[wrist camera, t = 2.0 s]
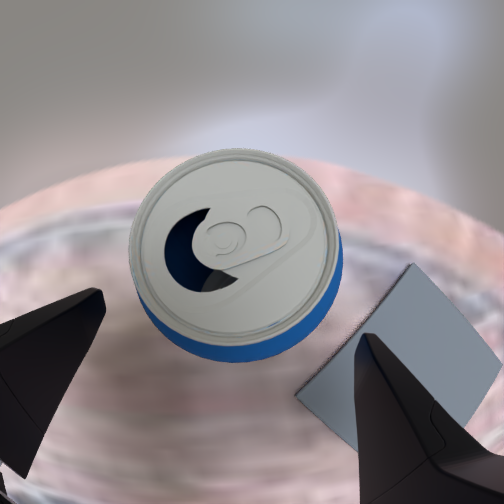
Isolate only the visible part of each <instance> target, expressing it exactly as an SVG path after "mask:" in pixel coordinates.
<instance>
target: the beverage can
mask: <svg viewBox="0 0 504 504" xmlns="http://www.w3.org/2000/svg"><path fill="white" fill-rule="evenodd" d="M129 264H130V269H131V274H132V277H133V280H134V284H135V286H136V290H137V293H138V296H139V299H140V302H141V304H142V306H143V308H144V309H145V311H146V313H147V315H148V316H149V318H150V319H151V321H152V322H153V323H154V325H155V326H156V327H157V328H158V329H159V330H160V331H161V332H162V333H163V335H164V336H166V337H167V338H168V339H169V340H171V341H172V342H173V343H174V344H176V345H177V346H179V347H181V348H182V349H184V350H186V351H188V352H190V353H192V354H194V355H197V356H199V357H202V358H206V359H210V360H214V361H219V362H229V363H240V362H251V361H257V360H262V359H265V358H268V357H271V356H274V355H277V354H279V353H281V352H284V351H286V350H288V349H290V348H291V347H293V346H294V345H296V344H297V343H299V342H300V341H302V340H303V339H304V338H305V337H307V336H308V335H309V334H310V333H311V332H312V331H313V330H314V329H315V328H316V327H317V326H318V325H319V323H320V322H321V321H322V320H323V318H324V317H325V316H326V314H327V312H328V311H329V309H330V307H331V306H332V304H333V301H334V299H335V297H336V294H337V292H338V289H339V285H340V281H341V276H342V268H343V249H342V242H341V237H340V233H339V230H338V227H337V221H336V218H335V215H334V212H333V209H332V207H331V205H330V203H329V200H328V198H327V197H326V195H325V194H324V192H323V191H322V189H321V188H320V186H319V185H318V184H317V183H316V182H315V181H314V180H313V178H312V177H310V176H309V175H308V174H307V173H306V172H305V171H304V170H302V169H301V168H299V167H298V166H296V165H295V164H294V163H292V162H290V161H288V160H286V159H284V158H282V157H279V156H277V155H274V154H271V153H268V152H264V151H260V150H253V149H240V148H237V149H236V148H233V149H222V150H217V151H212V152H208V153H205V154H202V155H199V156H196V157H194V158H192V159H189V160H187V161H185V162H184V163H182V164H180V165H178V166H177V167H175V168H174V169H172V170H171V171H170V172H168V173H167V174H166V175H165V176H164V177H162V178H161V179H160V180H159V181H158V182H157V183H156V184H155V186H154V187H153V188H152V189H151V190H150V191H149V193H148V194H147V196H146V197H145V199H144V200H143V202H142V203H141V205H140V207H139V209H138V211H137V213H136V216H135V219H134V221H133V224H132V228H131V233H130V238H129Z"/></svg>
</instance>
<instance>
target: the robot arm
mask: <svg viewBox="0 0 504 504" xmlns="http://www.w3.org/2000/svg"><path fill="white" fill-rule="evenodd" d="M105 313H106V305H105V301H104V296H103V292H102V290H100V289H97V288H93V287H91V288H88V289H86V290H83V291H81V292H78V293H76V294H73V295H71V296H68V297H66V298H63V299H61V300H58V301H56V302H53V303H51V304H48V305H46V306H43V307H41V308H39V309H36V310H34V311H31V312H29V313H26V314H24V315H22V316H19V317H17V318H15V319H12V320H10V321H7V322H5V323H2V324H0V466H1V465H2V463H4V464H5V465H6V466H7V467H9V468H10V469H11V470H13V471H14V472H15V473H17V474H18V475H19V476H21V477H22V478H23V479H26V477H27V475H28V472H29V470H30V468H31V465H32V463H33V460H34V458H35V456H36V453H37V451H38V449H39V446H40V444H41V442H42V440H43V437H44V434H45V433H46V431H47V429H48V426H49V424H50V422H51V420H52V418H53V416H54V414H55V412H56V410H57V408H58V406H59V404H60V402H61V400H62V398H63V396H64V394H65V392H66V390H67V388H68V386H69V384H70V383H71V381H72V379H73V377H74V375H75V373H76V371H77V370H78V368H79V366H80V364H81V362H82V361H83V359H84V357H85V355H86V354H87V352H88V350H89V348H90V346H91V344H92V342H93V340H94V338H95V335H96V333H97V331H98V329H99V327H100V324H101V322H102V320H103V318H104V316H105ZM354 404H355V415H356V427H357V441H358V458H359V483H360V504H504V456H501V455H497V454H494V453H491V452H490V451H488V450H486V449H485V448H484V447H483V446H482V445H481V444H480V443H479V442H478V441H476V440H475V439H474V438H473V437H472V436H471V435H470V434H469V433H468V432H467V431H466V430H465V429H464V428H463V427H462V426H461V425H460V424H459V423H458V422H456V421H455V420H454V419H453V418H452V417H451V416H450V414H449V413H448V412H447V411H446V410H445V409H444V408H443V407H442V406H441V405H440V404H439V402H438V401H437V400H435V398H434V397H433V396H432V395H431V394H430V392H429V391H428V390H427V389H426V388H425V387H424V386H423V385H422V384H421V382H420V381H419V380H418V379H417V378H416V377H415V376H414V375H413V374H412V373H411V371H410V370H409V369H408V368H407V367H406V366H405V365H404V364H403V363H402V362H401V361H400V360H399V358H398V357H397V356H396V355H395V354H394V353H393V352H392V351H391V350H390V349H389V348H388V347H387V346H386V344H385V343H384V342H383V341H382V340H381V339H380V338H379V337H378V336H377V335H376V334H375V333H366V332H364V333H363V334H362V335H361V337H360V340H359V343H358V345H357V347H356V350H355V354H354ZM0 504H17V503H15V502H14V501H13V500H12V499H10V498H9V497H8V496H7V493H6V489H5V485H4V480H3V476H2V473H1V472H0Z"/></svg>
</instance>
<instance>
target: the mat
mask: <svg viewBox="0 0 504 504" xmlns="http://www.w3.org/2000/svg"><path fill="white" fill-rule="evenodd" d="M364 332H366V333H375V334H376V335H377V336H378V337H379V338H380V339H381V340H382V341H383V342H384V343H385V344H386V346H387V347H388V348H389V349H390V350H391V351H392V352H393V353H394V354H395V355H396V356H397V357H398V358H399V360H400V361H401V362H402V363H403V364H404V365H405V366H406V367H407V368H408V369H409V370H410V371H411V373H412V374H413V375H414V376H415V377H416V378H417V379H418V380H419V381H420V382H421V384H422V385H423V386H424V387H425V388H426V389H427V390H428V391H429V392H430V394H431V395H432V396H433V397H434V398H435V400H437V401H438V402H439V404H440V405H441V406H442V407H443V408H444V409H445V410H446V411H447V412H448V413H449V414H450V416H451V417H452V418H453V419H454V420H455V421H456V422H458V423H459V424H460V425H461V426H462V427H463V428H464V427H465V426H466V424H467V423H468V421H469V420H470V419H471V417H472V416H473V414H474V413H475V411H476V410H477V408H478V407H479V405H480V403H481V402H482V400H483V399H484V397H485V395H486V394H487V392H488V390H489V389H490V387H491V385H492V384H493V382H494V380H495V378H496V377H497V375H498V373H499V371H500V369H501V367H502V365H503V364H502V363H501V361H500V360H499V359H498V358H497V356H496V355H495V354H494V352H493V351H492V350H491V348H490V347H489V346H488V345H487V343H486V342H485V341H484V340H483V338H482V337H481V336H480V335H479V334H478V332H477V331H476V330H475V329H474V328H473V326H472V325H471V324H470V323H469V322H468V320H467V319H466V318H465V317H464V316H463V315H462V313H461V312H460V311H459V310H458V309H457V308H456V307H455V306H454V304H453V303H452V302H451V301H450V300H449V299H448V298H447V297H446V296H445V294H444V293H443V292H442V291H441V290H440V289H439V288H438V287H437V286H436V285H435V284H434V283H433V282H432V281H431V280H430V278H429V277H428V276H427V275H426V274H425V273H424V272H423V271H422V270H421V269H420V268H419V267H418V266H417V265H416V264H415V263H412V264H411V265H410V266H409V267H408V269H407V270H406V271H405V273H404V274H403V275H402V277H401V278H400V279H399V281H398V282H397V283H396V285H395V286H394V287H393V288H392V290H391V291H390V292H389V293H388V295H387V296H386V297H385V298H384V300H383V301H382V302H381V303H380V305H379V306H378V307H377V308H376V310H375V311H374V312H373V313H372V314H371V315H370V317H369V318H368V319H367V320H366V321H365V323H364V324H363V325H362V326H361V327H360V328H359V329H358V331H357V332H356V333H355V334H354V335H353V336H352V337H351V338H350V340H349V341H348V342H347V343H346V344H345V345H344V346H343V347H342V348H341V349H340V351H339V352H338V353H337V354H336V355H335V356H334V357H333V358H332V359H331V360H330V361H329V362H328V363H327V364H326V365H325V366H324V367H323V368H322V369H321V370H320V371H319V372H318V373H317V374H316V375H315V376H314V377H313V378H312V379H311V380H310V381H309V382H308V383H307V384H306V385H305V386H304V387H303V388H302V389H301V390H300V391H299V392H298V393H297V394H296V395H295V396H296V397H297V398H298V399H299V400H300V401H301V402H302V403H303V404H304V405H305V406H306V407H307V408H308V409H309V410H310V411H312V412H313V413H314V414H315V415H316V416H317V417H318V418H319V419H320V420H321V421H323V422H324V423H325V424H326V425H327V426H328V427H329V428H330V429H332V430H333V431H334V432H335V433H336V434H337V435H338V436H340V437H341V438H342V439H343V440H344V441H345V442H346V443H348V444H349V445H350V446H351V447H352V448H353V449H355V450H356V451H357V452H358V441H357V427H356V415H355V404H354V354H355V350H356V347H357V345H358V343H359V340H360V337H361V335H362V334H363V333H364Z"/></svg>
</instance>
